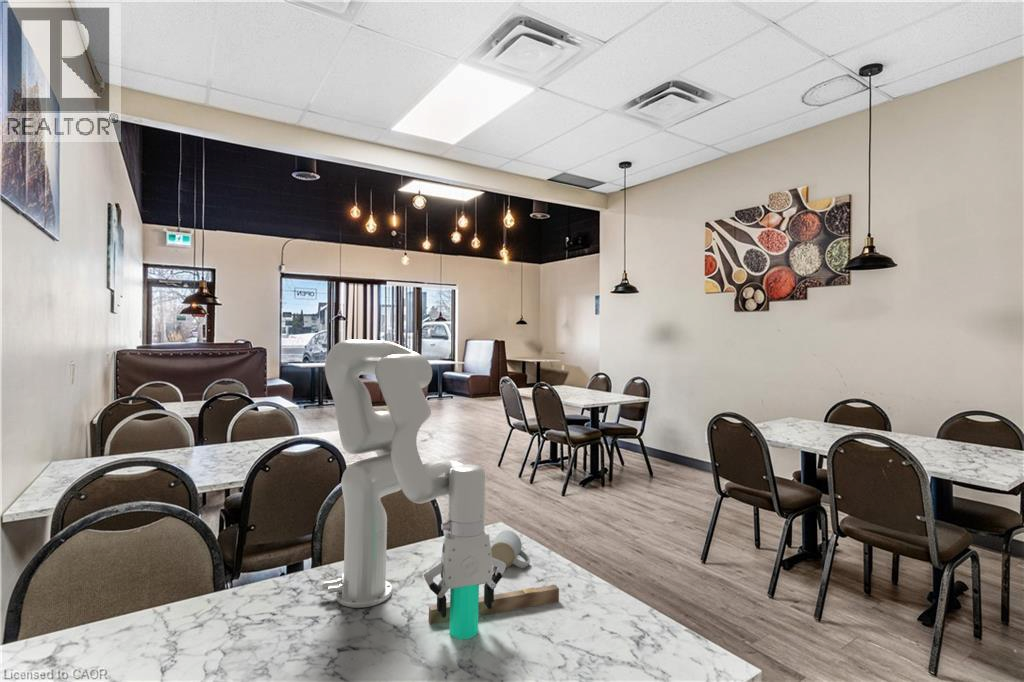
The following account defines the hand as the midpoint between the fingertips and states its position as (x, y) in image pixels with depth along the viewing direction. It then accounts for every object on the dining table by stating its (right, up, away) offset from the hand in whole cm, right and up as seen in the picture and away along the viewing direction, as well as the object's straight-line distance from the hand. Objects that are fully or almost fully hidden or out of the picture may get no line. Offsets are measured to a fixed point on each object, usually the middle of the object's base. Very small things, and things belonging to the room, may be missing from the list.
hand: (465, 610), depth 103 cm
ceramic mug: (+9, -6, +33) cm, 35 cm away
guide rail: (+6, -5, +8) cm, 11 cm away
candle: (0, -5, 0) cm, 5 cm away
